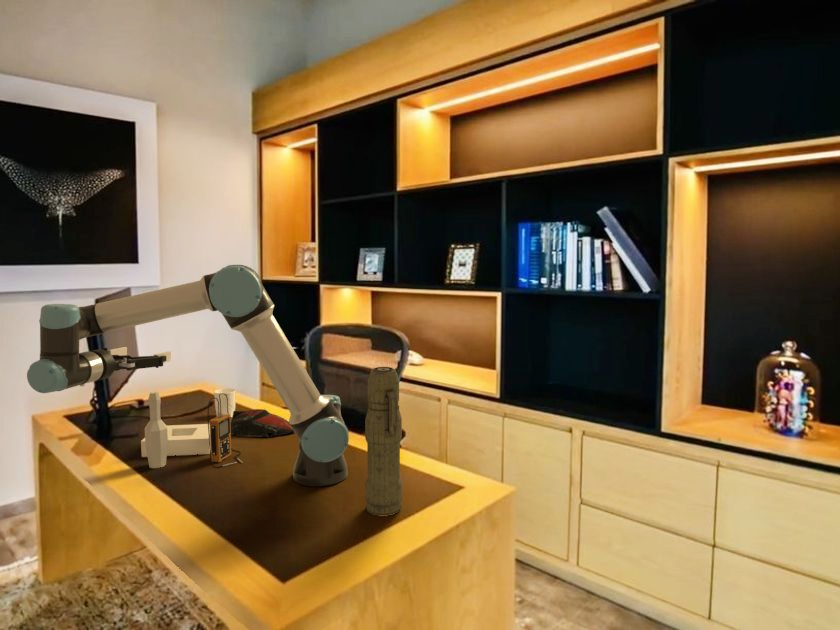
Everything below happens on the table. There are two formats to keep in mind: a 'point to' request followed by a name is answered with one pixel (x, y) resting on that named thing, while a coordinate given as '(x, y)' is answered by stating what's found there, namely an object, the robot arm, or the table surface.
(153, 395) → the low poly bottle
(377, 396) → the thermos
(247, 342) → the robot arm
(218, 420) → the multimeter
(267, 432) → the drone shell
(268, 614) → the table surface
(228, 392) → the white cup
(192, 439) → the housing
